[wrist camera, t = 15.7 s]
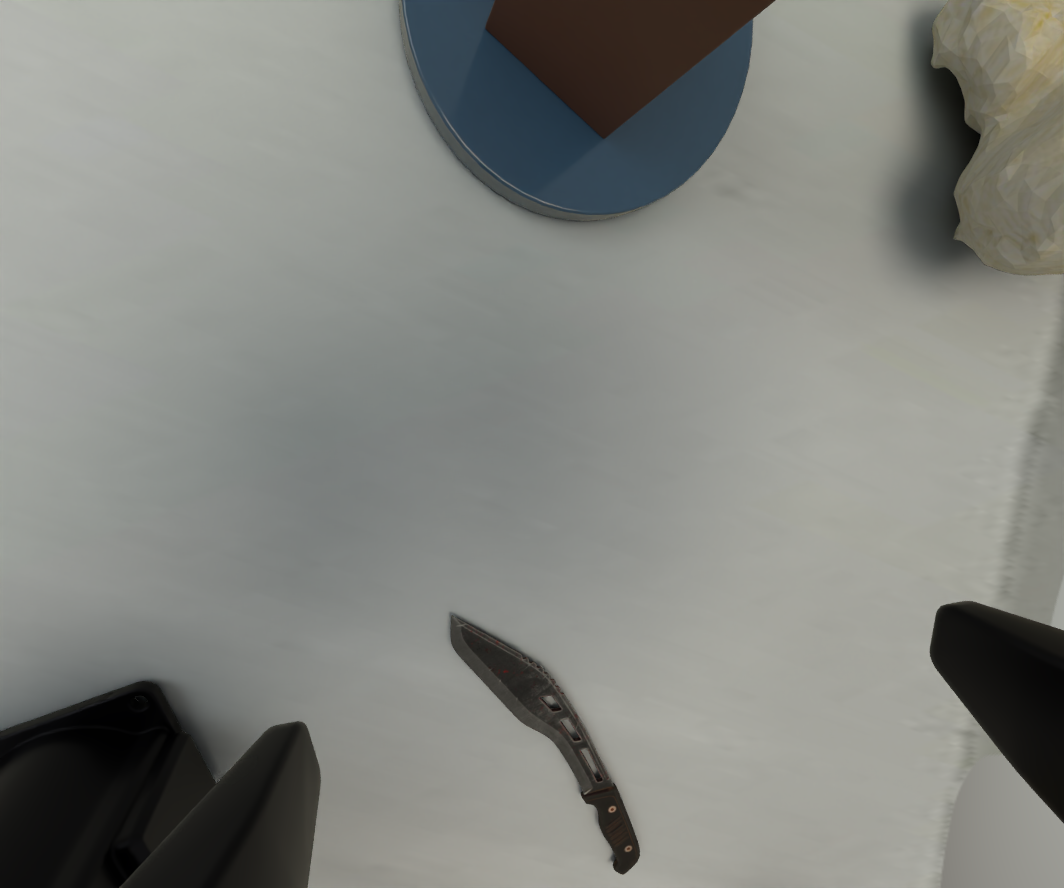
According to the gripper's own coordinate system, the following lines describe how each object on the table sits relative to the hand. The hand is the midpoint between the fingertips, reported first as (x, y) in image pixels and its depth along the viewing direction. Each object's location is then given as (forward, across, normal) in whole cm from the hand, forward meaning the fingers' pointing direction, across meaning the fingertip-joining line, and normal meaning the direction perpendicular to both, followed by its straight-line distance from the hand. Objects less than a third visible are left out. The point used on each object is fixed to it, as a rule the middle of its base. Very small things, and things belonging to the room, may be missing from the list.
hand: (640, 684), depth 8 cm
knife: (+11, 0, +14) cm, 18 cm away
